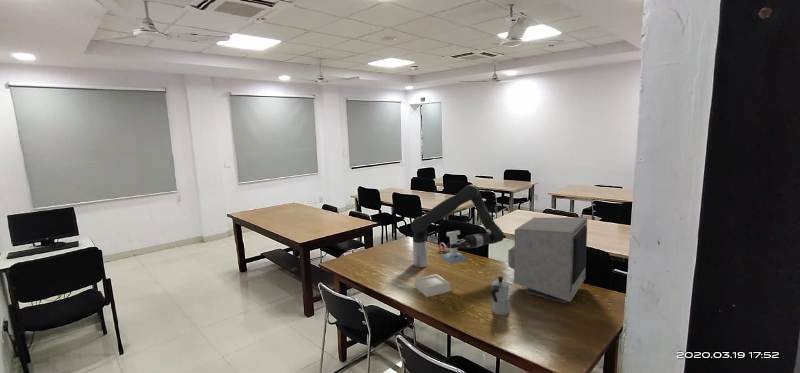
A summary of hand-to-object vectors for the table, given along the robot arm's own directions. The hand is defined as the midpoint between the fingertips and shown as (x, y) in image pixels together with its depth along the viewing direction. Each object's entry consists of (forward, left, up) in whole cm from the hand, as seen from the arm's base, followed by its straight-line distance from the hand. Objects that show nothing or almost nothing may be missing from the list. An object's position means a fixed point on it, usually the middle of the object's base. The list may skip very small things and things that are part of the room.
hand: (449, 245), depth 215 cm
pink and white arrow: (-49, +30, -24) cm, 62 cm away
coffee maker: (+40, +4, -24) cm, 47 cm away
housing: (0, -12, -24) cm, 27 cm away
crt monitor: (+32, +41, -24) cm, 58 cm away
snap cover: (0, +3, -8) cm, 9 cm away
